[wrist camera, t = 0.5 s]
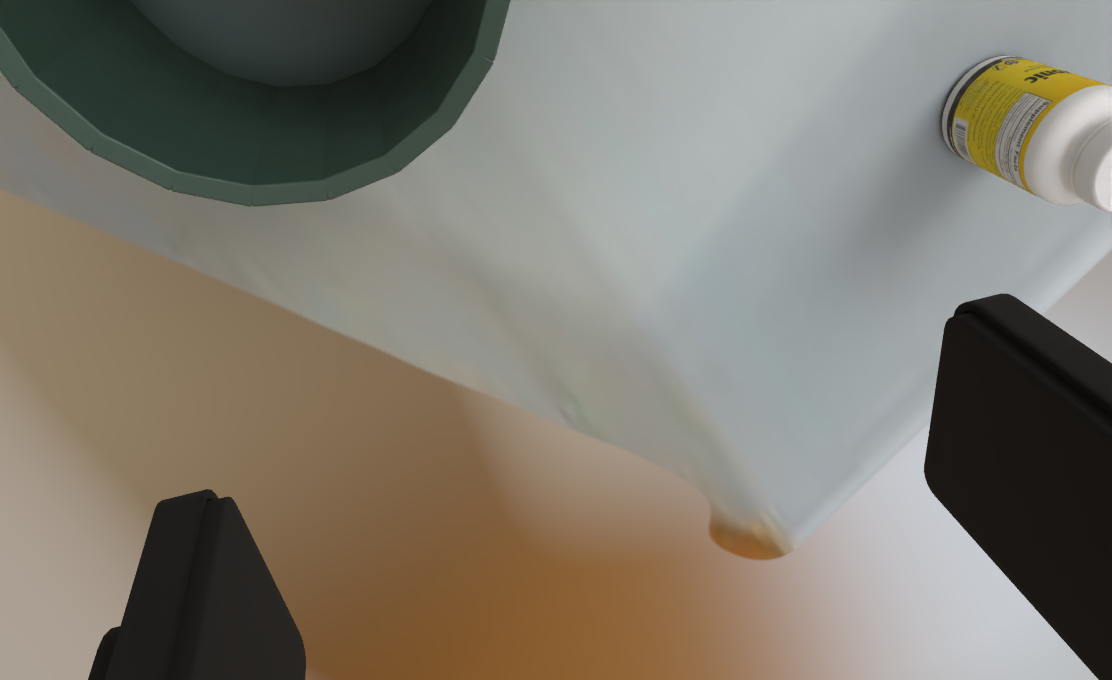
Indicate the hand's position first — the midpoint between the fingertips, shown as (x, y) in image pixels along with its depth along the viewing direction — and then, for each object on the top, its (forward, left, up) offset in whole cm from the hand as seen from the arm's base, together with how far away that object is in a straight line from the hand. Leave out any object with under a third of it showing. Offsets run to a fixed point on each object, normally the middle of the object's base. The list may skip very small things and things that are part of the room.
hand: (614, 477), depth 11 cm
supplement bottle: (-13, +26, -29) cm, 41 cm away
